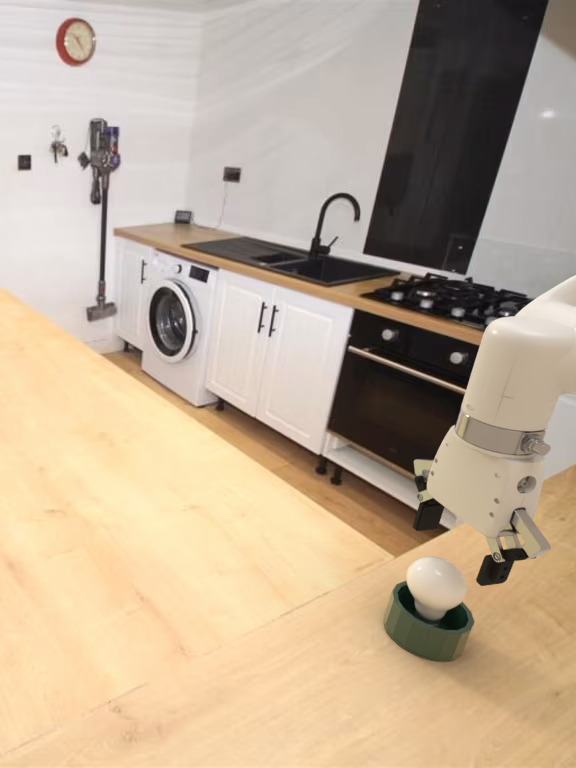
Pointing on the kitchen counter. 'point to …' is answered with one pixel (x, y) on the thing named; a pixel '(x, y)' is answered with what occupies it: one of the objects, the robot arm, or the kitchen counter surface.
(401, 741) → the kitchen counter surface
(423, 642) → the bowl
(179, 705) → the kitchen counter surface
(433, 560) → the lightbulb
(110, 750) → the kitchen counter surface
